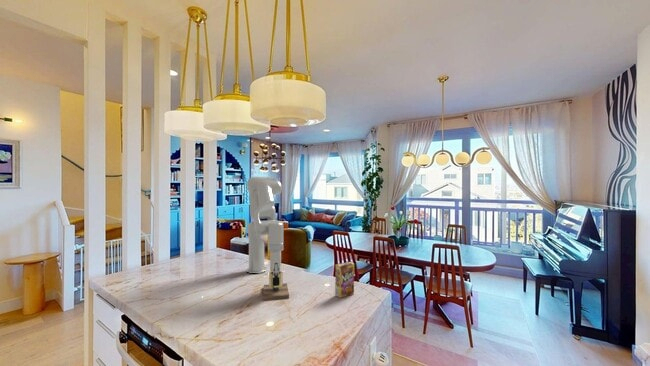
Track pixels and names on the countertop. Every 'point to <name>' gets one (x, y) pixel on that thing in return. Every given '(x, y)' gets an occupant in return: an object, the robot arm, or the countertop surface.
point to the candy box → (344, 279)
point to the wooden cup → (272, 279)
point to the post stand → (275, 292)
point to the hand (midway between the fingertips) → (275, 282)
